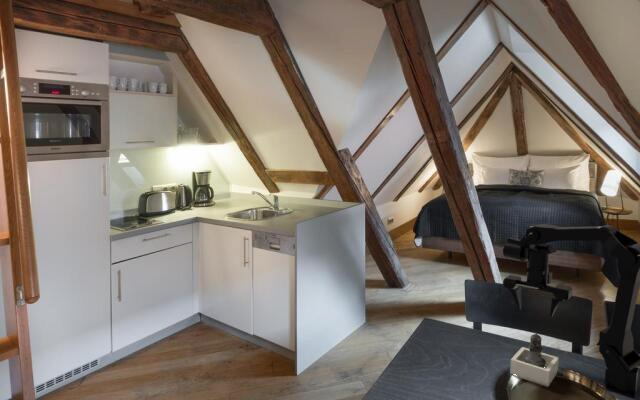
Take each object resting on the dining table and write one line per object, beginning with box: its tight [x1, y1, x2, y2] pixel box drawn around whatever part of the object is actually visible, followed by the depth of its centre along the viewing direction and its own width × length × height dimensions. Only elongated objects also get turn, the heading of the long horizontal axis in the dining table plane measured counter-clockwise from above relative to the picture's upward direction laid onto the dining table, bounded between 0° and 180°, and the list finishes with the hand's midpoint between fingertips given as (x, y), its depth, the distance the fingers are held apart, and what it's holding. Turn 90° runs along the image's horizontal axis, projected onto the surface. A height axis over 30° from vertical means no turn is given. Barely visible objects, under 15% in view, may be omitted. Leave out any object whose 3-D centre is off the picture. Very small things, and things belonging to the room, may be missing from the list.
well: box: [509, 346, 560, 388], centre depth 124 cm, size 10×10×4 cm
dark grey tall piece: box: [524, 331, 546, 368], centre depth 123 cm, size 6×6×12 cm
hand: (535, 313), depth 134 cm, fingers open, 9 cm apart
